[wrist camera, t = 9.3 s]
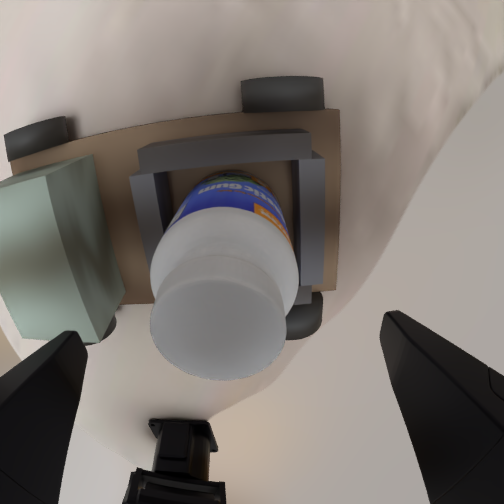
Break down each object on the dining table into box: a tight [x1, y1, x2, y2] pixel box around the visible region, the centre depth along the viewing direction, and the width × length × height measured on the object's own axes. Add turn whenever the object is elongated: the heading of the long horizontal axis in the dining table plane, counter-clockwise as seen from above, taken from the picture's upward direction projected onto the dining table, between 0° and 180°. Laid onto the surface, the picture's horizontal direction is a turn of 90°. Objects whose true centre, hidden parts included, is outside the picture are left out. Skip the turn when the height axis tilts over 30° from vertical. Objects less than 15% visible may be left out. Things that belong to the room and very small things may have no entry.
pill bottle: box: [150, 170, 299, 380], centre depth 13 cm, size 5×5×10 cm
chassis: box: [0, 76, 341, 346], centre depth 16 cm, size 14×20×6 cm
